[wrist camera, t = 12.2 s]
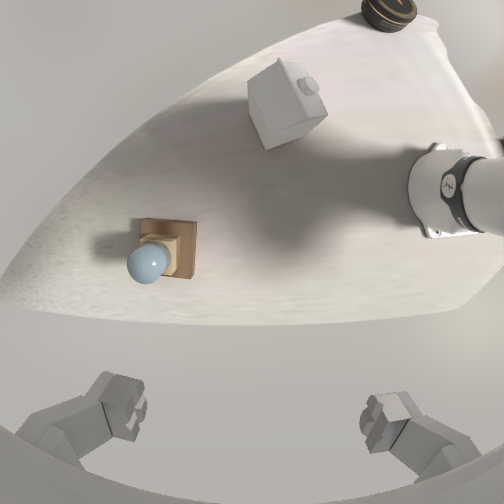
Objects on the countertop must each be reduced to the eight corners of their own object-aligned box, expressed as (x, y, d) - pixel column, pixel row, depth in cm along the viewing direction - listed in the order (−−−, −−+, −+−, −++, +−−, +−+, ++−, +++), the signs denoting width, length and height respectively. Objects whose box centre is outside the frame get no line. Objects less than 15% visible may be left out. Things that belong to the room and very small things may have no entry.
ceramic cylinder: (171, 242, 39) (160, 250, 34) (170, 274, 40) (160, 286, 35) (140, 239, 39) (126, 246, 34) (140, 270, 40) (127, 281, 35)
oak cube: (180, 235, 44) (171, 242, 39) (179, 266, 45) (170, 275, 40) (151, 233, 44) (139, 238, 39) (150, 262, 45) (139, 271, 40)
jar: (355, -5, 35) (366, -24, 28) (397, 6, 35) (412, -9, 28) (361, 28, 38) (375, 10, 30) (405, 40, 38) (423, 26, 30)
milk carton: (265, 150, 44) (274, 127, 25) (248, 112, 42) (245, 67, 24) (305, 136, 43) (338, 106, 25) (288, 98, 42) (309, 49, 23)
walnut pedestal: (197, 221, 46) (193, 224, 44) (194, 273, 48) (190, 279, 46) (146, 217, 46) (140, 220, 43) (145, 268, 48) (139, 272, 45)
